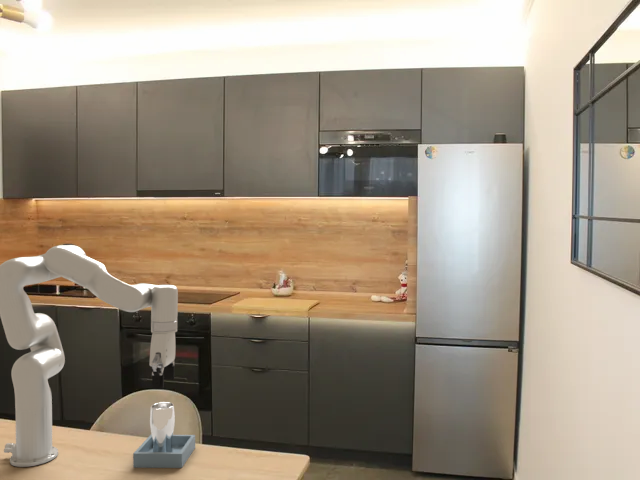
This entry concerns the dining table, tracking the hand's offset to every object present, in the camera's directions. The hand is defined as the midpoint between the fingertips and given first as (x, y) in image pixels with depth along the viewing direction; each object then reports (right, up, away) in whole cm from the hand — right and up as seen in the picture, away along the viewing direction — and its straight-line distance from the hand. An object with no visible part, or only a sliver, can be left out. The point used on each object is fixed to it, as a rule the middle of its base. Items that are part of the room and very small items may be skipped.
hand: (163, 383), depth 154 cm
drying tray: (+1, -22, 0) cm, 22 cm away
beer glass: (0, -21, -1) cm, 21 cm away
